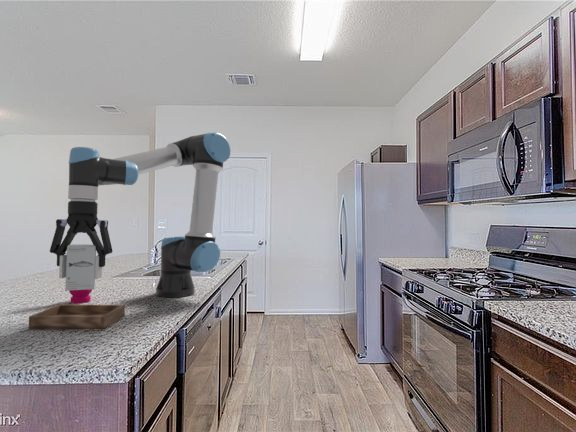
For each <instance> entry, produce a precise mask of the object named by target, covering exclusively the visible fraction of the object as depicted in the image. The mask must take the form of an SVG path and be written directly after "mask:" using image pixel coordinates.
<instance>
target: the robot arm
mask: <svg viewBox="0 0 576 432" xmlns="http://www.w3.org/2000/svg"><path fill="white" fill-rule="evenodd" d="M230 157H231V146H230V143H229V141H228V139H227V138H226V137H225V136H224V134H221V133H220V132H215V131H214V132H207V133H201V134H198V135H192V136H191V135H190V136H188V137H186V138H182V139H180V140H177V141H174V142H170V143H168V144H167V145H166V146H165V147H159V148H155V149H151V150H146V151H143V152H138V153H135V154H134V153H133V154H129V155H125V156H119V157H116V158H106V157H101V156H100V152H99V149H97V148H93V147H87V146H86V147H85V146H75V147H72V148H71V149H70V151H69V160H68V191H67V193H68V196H67V197H68V199H69V200H70V201H68V202H67V214H68V216H67V218H66V219H65V218H64V219H62V218H61V219H59V218H58V219H56V221H55V227H56V228H55V231H54V235H53V238H52V241H51V245H50V248H49V253H51V254H52V253H53V254H55V255H56V266H57V267H58V268H59V272H58V279H64V278H65V279H66V260H67V246H68V245H72V242H73V240H74V238H75V236H77V234H79V233H83V234H86V235H87V236H89V237H88V238H89V239H90V241H91V244H92V245H94V246H96V254H97V255H96V256H95V280H99V279H101V278H103V274H102V273H103V267H105V266H106V256H107V255H110V254H112V253H113V246H112V243H111V239H110V233H109V229H108V225H109V221H108V220H103V219H102V220H101V219H99V218H98V204H99V203H98V202H96V201H98V197H99V195H98V194H99V193H98V192H99V186H109V185H110V186H112V185H123V186H133V185H134V184H136V183H137V181H138V179H139V175H143V174H146V173H151V172H154V171H157V170H161V169H164V168H169V167H174V168H177V167H181V166H193V168H194V170H195V177H194V178H195V179H194V188H193V196H192V204H191V205H192V207H191V214H190V225H189V231H188V232H187V233H186V234H184V235H183V236H171V237H170V236H169V237H165V238H163V239H162V240H161V245H160V246H161V247H160V249H161V251H160V253H161V255H160V256H161V257H160V259H161V260H160V277H159V279H158V282H157V285H156V288H155V296H157V297H162V298H180V297H188V296H189V297H190V296H192V295H195V293H196V292H195V291H196V289H195V284H194V281H193V277H192V274H191V273H192V272H191V271H193V272H196V273H209V271H212V270H213V269H214V268H215V267H216V266H217V265H218V263H219V261H220V258H221V249H220V247H219V245H218V244H217V243H216V236H215V235H214V234H213V227H214V219H215V207H216V201H217V199H216V198H217V189H218V188H217V187H218V179H219V173H220V172H221V171H222V170H223V169H224V168H223V167H224V163H225V162H227V161H228V159H229V158H230ZM67 226H69V229H68V230H67V231H66V227H67ZM96 226H98V228H99V233H100V237H101V240H100V237H99V235H98V232H97V230H96ZM65 231H66V235H65V237H64V234H65ZM63 237H64V238H63Z"/></svg>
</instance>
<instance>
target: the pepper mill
mask: <svg viewBox="0 0 576 432" xmlns="http://www.w3.org/2000/svg"><path fill="white" fill-rule="evenodd" d="M92 291H93V289H88V290H69V291H68V293H69V294H70V295H72V296H71V297H70V303H71V304H85V303H89V302H91V300H92V299H91V295H90V294H91V293H92Z"/></svg>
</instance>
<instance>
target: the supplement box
mask: <svg viewBox="0 0 576 432" xmlns="http://www.w3.org/2000/svg"><path fill="white" fill-rule="evenodd" d="M66 255H67V260H66V277H65V287H64V289H65V291H66V292H69V290H88V289H92V290H95V283H96V282H95V281H96V279H95V256H97V251H96V246H94V245H93V244H70V245H68V246H67V251H66Z"/></svg>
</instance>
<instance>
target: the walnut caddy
mask: <svg viewBox="0 0 576 432" xmlns="http://www.w3.org/2000/svg"><path fill="white" fill-rule="evenodd" d="M125 316H126V305H125V304H78V303H71V304H67V303H66V304H60V303H59V304H56V305H54V306H51V307H49V308H46V309H45V310H42V311H40V312H37V313H35V314H32V315H29V316H28V330H31V331H32V330H33V331H34V330H38V331H39V330H41V331H42V330H45V331H46V330H50V331H51V330H52V329H53V330H52V331H55V330H56V331H59V330H61V331H62V330H64V329H65V330H66V329H90V330H89V331H96V330H95V329H105V330H107V329H108V328H110V327H111V326H112V325H113V323H114V324H115V323H117V322H118V321H120V320H122V319H123V318H124V317H125ZM110 325H111V326H110ZM107 327H108V328H107ZM54 329H55V330H54ZM91 329H92V330H91ZM65 330H64V331H65Z"/></svg>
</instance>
